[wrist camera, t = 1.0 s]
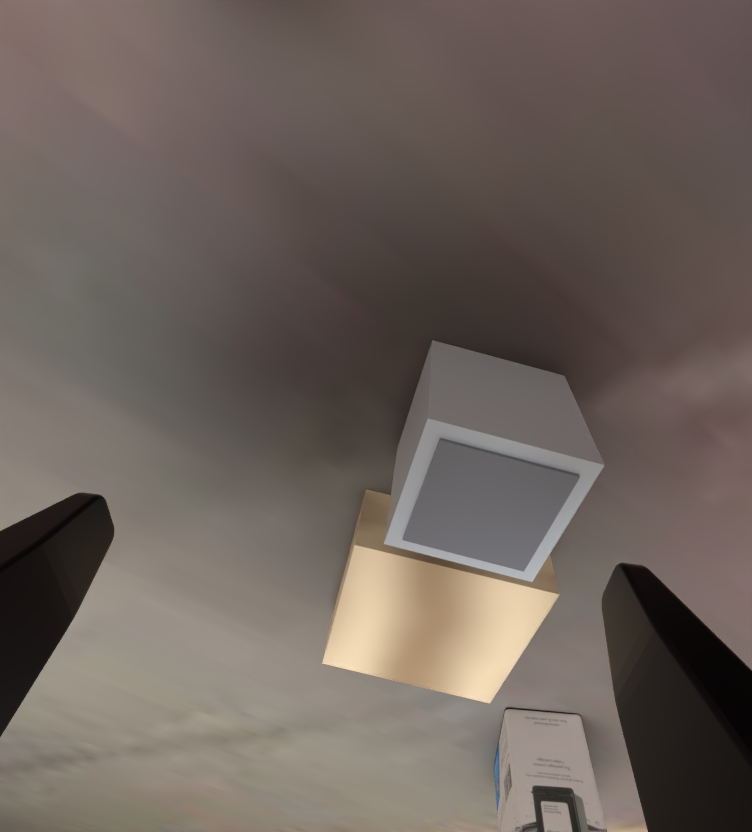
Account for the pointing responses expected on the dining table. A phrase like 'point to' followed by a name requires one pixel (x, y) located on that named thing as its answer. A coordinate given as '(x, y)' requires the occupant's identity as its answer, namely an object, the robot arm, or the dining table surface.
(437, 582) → the beige square block
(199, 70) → the dining table surface
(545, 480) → the gray paneled cube
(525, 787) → the ink box
